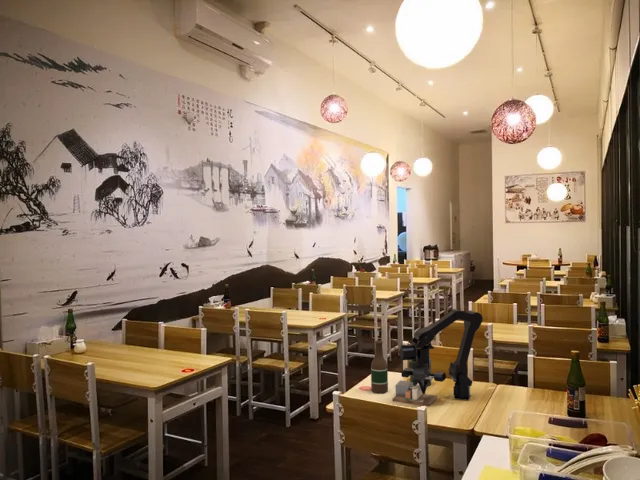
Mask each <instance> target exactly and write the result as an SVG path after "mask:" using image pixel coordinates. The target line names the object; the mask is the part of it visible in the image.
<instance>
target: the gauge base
mask: <svg viewBox="0 0 640 480" xmlns="http://www.w3.org/2000/svg"><path fill="white" fill-rule="evenodd" d="M437 400H438V395H436V394H428V393H425V394H422V395H421V396H420V397H419V398H418V399H417V400H414V399H412V394H411V398H410V399H407V398H406V397H400V396H396V395H395V396H394V397H393V398H392V401H393V402H398V403H405V404H413V405H417V406H419V405H420V406H424V405H425V407H432V405H433V404H434V403H435V402H436V401H437Z"/></svg>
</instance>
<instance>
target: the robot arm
mask: <svg viewBox="0 0 640 480" xmlns="http://www.w3.org/2000/svg"><path fill="white" fill-rule="evenodd" d="M483 319H484V317H483V316H482V314H481V313H480V312H477V311H475V310H467V311H464V310H459V309H456V308H453V309H452V310H450V311H449V312H448V313H446V314H445V315H443V316H442V317H440V318H439V319H438V320H436V321H435V322H433V323H432V324H431V325H428V326H425V327H422V328H420V329H418V330H416V331H415V332H414V337H413V338H412V340H411V341H410V342H409V344H402V343H401V344H400V347H399V351H398V356H399V359H400V361H409V360H414V359H415V358H416V357H417V362H416V367H415V369H414V370H413V369H411V368H409V367H405V368H404V369H403V370H402V371H401V373H400V374H401V378H410V375H413V377H414V380H416V381H417V382H418V383H419V385H420V388H421V391H422V393H423V394H426V392H427V390H428V384H429V382H430V381H431V382H432V381H433V380H434V381H436V382H440V383H441V382H444V381H445V380H446V379H447V374H446V372H445V371H436V372H434V373H433V372H432V370H431V371H430V359H431V357H430V356H431V355H430V352H431V351H430V350H434V349H435V347H434V346H433V345H432V343H431V342H432V341H433V340H434V339H435V338H436V336H437V335H438V334H439V333H440V332H442V331H443V330H444V329H446V328H448V327H449V326H451V325H452V324H453V323H454V322H455V323H456V321H457V320H462V321H463V328H464V329H463V334H462V338H461V341H460V345H459V349H458V352H457V357H456V359H455V360H454V362H452V361H450V362H449V363H450V364H449V368H447V369H448V375H449V377H450V378H451V379H452V381H453V382H454V386H453V399H456V400H465V401H469V400H470V399H471V397H472V394H471V387H472V384H473V381H472V379H471V378H470V377H468V373H469V371H468V370H469V369H468V360H469V356H470V353H471V349H472V344H473V341H474V338H475V334H476V332H477V331H478V330H479V329H480V327H481V326H482V323H483V321H484V320H483ZM430 372H431V373H430Z"/></svg>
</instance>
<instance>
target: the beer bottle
mask: <svg viewBox="0 0 640 480" xmlns="http://www.w3.org/2000/svg"><path fill="white" fill-rule="evenodd" d="M374 345H375V346H374V347H375V348H374V357H373V359H372V360H371V364H370V382H371V384H370V387H371V392H372V393H373V394H377V395H382V394H386V393H387V392H388V389H389V385H388V384H389V383H388V382H389V381H388V379H389V377H388V375H389V371H388V364H387V360H386V359H385V358H384V351H383V350H384V349H383V340H380V339H376V340H375V341H374Z"/></svg>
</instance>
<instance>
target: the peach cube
mask: <svg viewBox="0 0 640 480" xmlns="http://www.w3.org/2000/svg"><path fill="white" fill-rule="evenodd" d="M406 398H407V399H410V398H411V391H409V390H407V391H406Z"/></svg>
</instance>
